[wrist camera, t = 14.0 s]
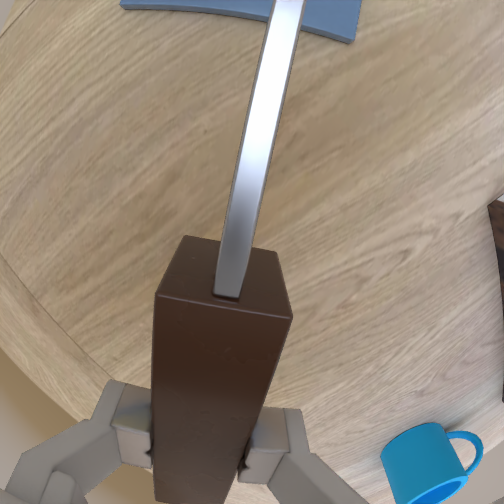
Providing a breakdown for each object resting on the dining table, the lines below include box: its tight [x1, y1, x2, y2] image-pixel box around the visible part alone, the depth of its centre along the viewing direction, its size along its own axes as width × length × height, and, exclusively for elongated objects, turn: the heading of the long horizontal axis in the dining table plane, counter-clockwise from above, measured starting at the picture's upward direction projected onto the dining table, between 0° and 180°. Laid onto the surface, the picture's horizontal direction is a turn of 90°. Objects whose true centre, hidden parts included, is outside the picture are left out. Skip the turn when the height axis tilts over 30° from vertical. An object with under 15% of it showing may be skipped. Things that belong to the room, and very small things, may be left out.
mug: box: [380, 423, 484, 504], centre depth 25 cm, size 12×8×8 cm
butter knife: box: [151, 0, 307, 504], centre depth 6 cm, size 2×20×3 cm, turn 168°
